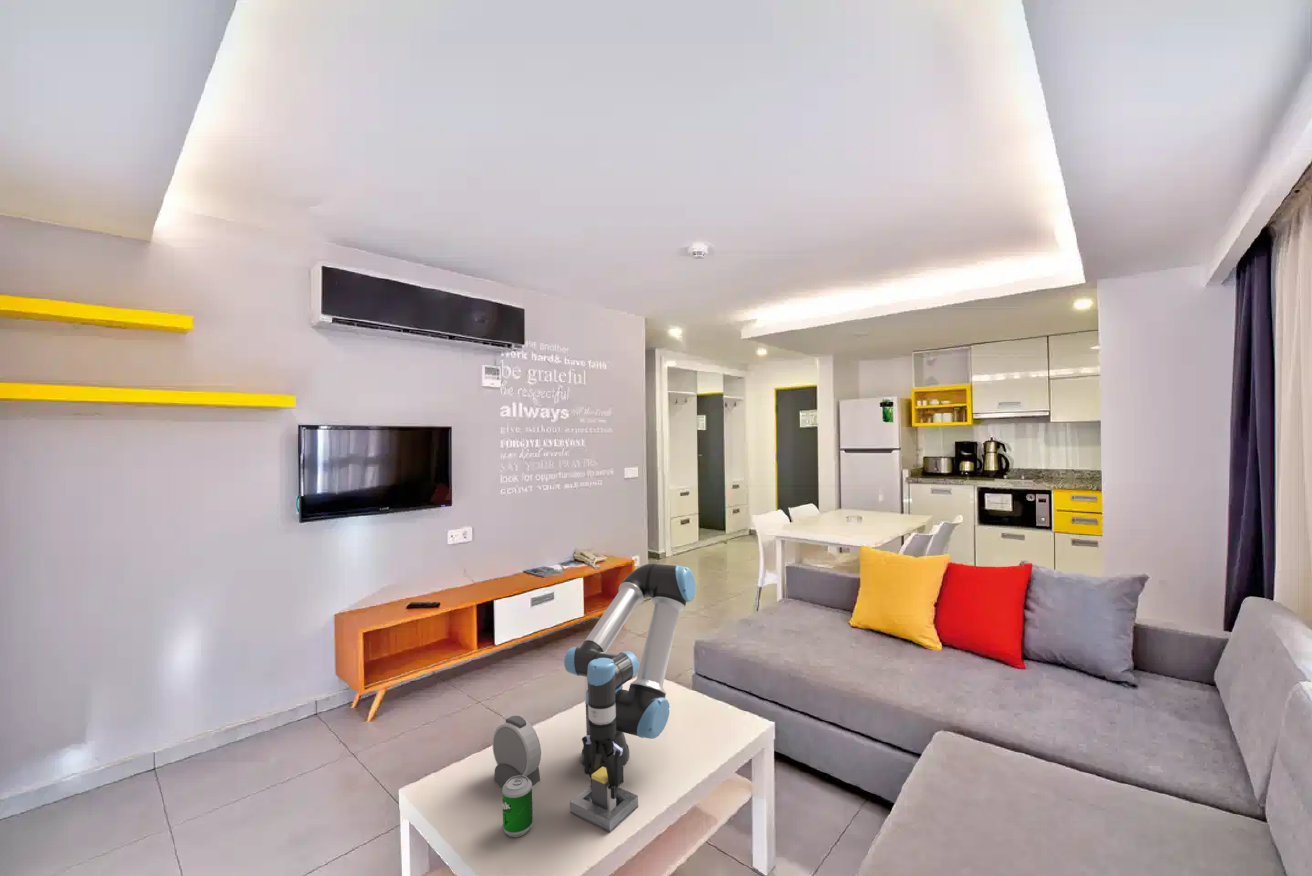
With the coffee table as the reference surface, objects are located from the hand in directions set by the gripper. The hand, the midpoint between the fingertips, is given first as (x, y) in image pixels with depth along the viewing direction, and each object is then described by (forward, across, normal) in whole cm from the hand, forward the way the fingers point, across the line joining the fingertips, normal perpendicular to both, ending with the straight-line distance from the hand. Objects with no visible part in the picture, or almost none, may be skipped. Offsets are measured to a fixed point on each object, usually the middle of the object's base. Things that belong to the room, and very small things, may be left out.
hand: (604, 805), depth 147 cm
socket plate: (+1, 0, 0) cm, 1 cm away
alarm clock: (+1, -31, -4) cm, 31 cm away
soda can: (+1, -14, -18) cm, 23 cm away
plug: (0, 0, 0) cm, 0 cm away
